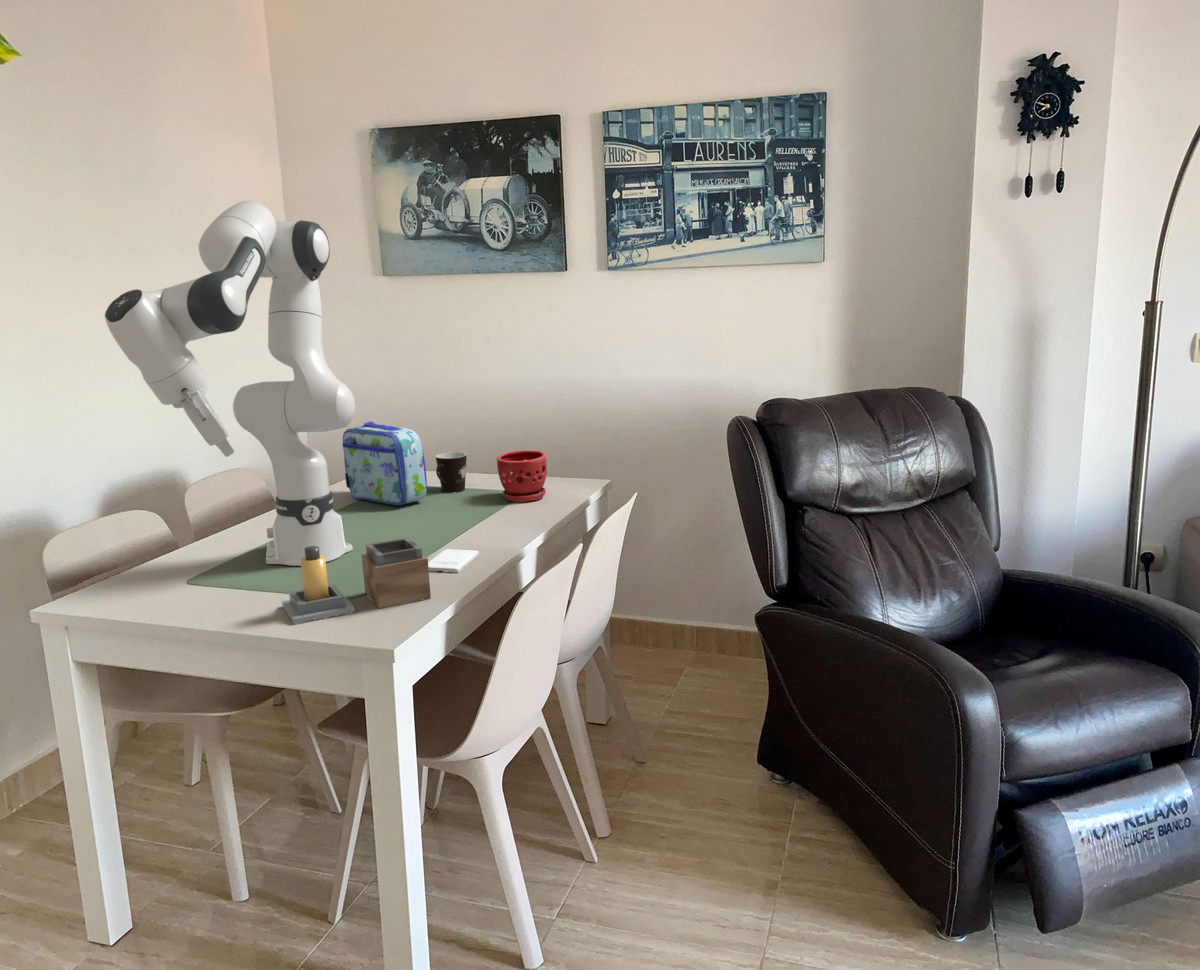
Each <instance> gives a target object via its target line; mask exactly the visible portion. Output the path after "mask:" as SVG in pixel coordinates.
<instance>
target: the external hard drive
mask: <svg viewBox="0 0 1200 970" xmlns="http://www.w3.org/2000/svg"><path fill="white" fill-rule="evenodd" d="M478 554H479V555H480V551H478V550H471V549H469V550H468V549H448V548H446V549H443V550H442V551H441V552H439V553H438V554H437V555H436V556H434V557H433V558H432V559H430V560H429V561H428V569H429V571H449V572H458V571H460V570H461V569H462V568H463V567H464V566H466V565H467V564H468V563H469V562H470V561H472V560H473V559H474V558H475V557H476V556H477V557H478V556H479V555H478ZM477 557H476V558H477ZM476 558H475V559H476ZM475 559H474V560H475ZM474 560H473V561H474ZM473 561H472V562H473ZM470 563H471V562H470ZM470 563H469V564H470ZM469 564H468V565H469ZM468 565H467V566H468ZM467 566H466V567H467ZM463 569H464V568H463ZM463 569H462V570H463ZM462 570H461V571H462ZM461 571H460V572H461Z"/></svg>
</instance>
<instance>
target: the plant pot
mask: <svg viewBox="0 0 1200 970" xmlns="http://www.w3.org/2000/svg"><path fill="white" fill-rule="evenodd" d="M496 464H497V472H498V478H499V481H500V483H501V486H502V488H503V489H504V490H503V491H502V495H503V497H504V498H505V499H506V500H508V501H511V502H516V503H525V501H527V502H532V501H533V500H535V501H537V500H539V499H541V498H543V497H544V496H545V495H546V492H547V489H546V488H545V487H544V486H545V482H546V478H547V473H548V472H547V469H548V468H547V467H548V465H547V455H546V453H545V452H543V451H541V450H527V449H526V450H517V451H516V450H514V451H509V452H506V453H501V454H500V455H498V456H497V457H496Z"/></svg>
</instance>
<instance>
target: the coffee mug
mask: <svg viewBox="0 0 1200 970" xmlns="http://www.w3.org/2000/svg"><path fill="white" fill-rule="evenodd" d="M467 455H468V454H467V453H466V452H460V451H459V452H458V451H457V452H456V451H455V452H454V451H452V452H443V453H438V454H436V455H435V461H436V466H437V467H436V469H435V471H436V472H435V473H436V476H437V478H438V480H439V481H440V487H441V491H443V492H442V493H445V494H446V493H447V494H448V493H449V494H454V493H453V492H456V493H461V492H464V491H465V490H466V477H467V476H466V474H467V473H466V472H467ZM463 490H464V491H463ZM460 491H461V492H460Z"/></svg>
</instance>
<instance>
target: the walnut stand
mask: <svg viewBox="0 0 1200 970" xmlns="http://www.w3.org/2000/svg"><path fill="white" fill-rule="evenodd" d="M365 549H366V553H362V554H361V560H362V561H361V562H362V572H363V583H364V593H365V592H366V593H367V595H368V596H369V597H370V598H371V599H372V600H373V601H374V602H375V603H374V602H373V601H372V600H371V599H370V598H369V597H368V596H367V595H366V596H367V597H368V598H369V599H370V600H371V601H372V602H373V603H374V604H375V606H376V607H377V608H378V607H379V608H380V609H383V608H382V607H385V608H389V607H388V606H390V607H394V606H393V605H395V606H399V604H400V605H404V604H403V603H405V604H410V603H414V602H413V601H415V602H419V601H418V600H420V601H423V600H422V599H425V600H428V599H427V598H430V599H432V598H431V596H432V595H431V585H430V583H431V582H430V572H429V569H428V562H429V561H428V559H429V558H428V557H426V556H425V555H424V554H423V549H422V547H421V546H419V545H418V544H417V543H416V542H414V541H413V540H412V539H411V538H409V537H405V538H398V539H393V540H386V541H380V542H375V543H369V544H365ZM409 602H410V603H409ZM379 608H378V609H379Z"/></svg>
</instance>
